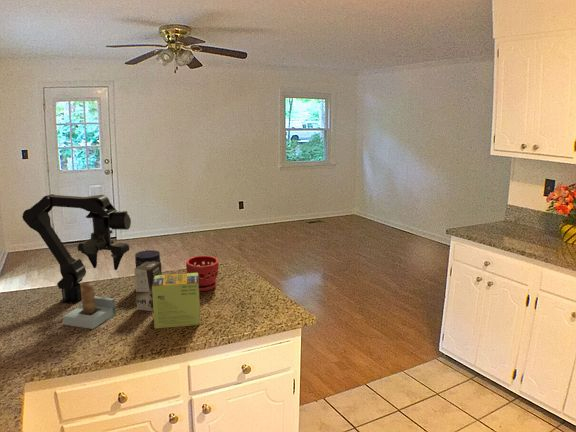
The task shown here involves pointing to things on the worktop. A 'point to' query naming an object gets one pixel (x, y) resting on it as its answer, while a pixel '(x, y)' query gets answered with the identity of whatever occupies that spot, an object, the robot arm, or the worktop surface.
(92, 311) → the peg
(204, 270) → the plant pot
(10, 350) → the worktop surface
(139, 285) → the coffee box
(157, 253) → the storage jar
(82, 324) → the socket block
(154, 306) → the protein box
